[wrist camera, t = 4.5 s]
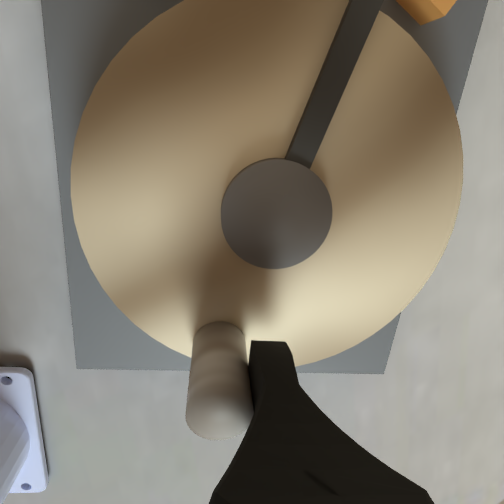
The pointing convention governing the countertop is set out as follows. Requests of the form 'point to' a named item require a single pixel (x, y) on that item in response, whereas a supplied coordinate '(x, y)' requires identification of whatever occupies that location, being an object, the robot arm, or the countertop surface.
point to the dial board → (68, 119)
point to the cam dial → (264, 184)
